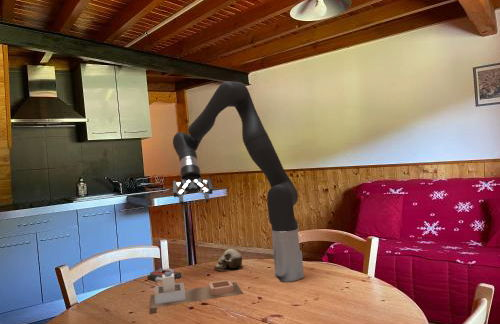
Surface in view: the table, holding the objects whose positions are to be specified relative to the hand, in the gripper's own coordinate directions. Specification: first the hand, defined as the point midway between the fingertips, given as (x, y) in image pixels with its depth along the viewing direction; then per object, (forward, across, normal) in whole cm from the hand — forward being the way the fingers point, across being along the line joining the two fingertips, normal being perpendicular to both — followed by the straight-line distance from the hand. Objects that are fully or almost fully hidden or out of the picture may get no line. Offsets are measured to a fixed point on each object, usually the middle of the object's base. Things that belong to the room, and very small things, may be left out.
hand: (194, 202), depth 135 cm
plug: (+30, -11, +8) cm, 33 cm away
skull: (+11, +13, +30) cm, 35 cm away
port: (+30, -11, +8) cm, 33 cm away
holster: (+30, +5, +8) cm, 32 cm away
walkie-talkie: (+15, -11, +26) cm, 32 cm away
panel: (+31, -3, +9) cm, 33 cm away
